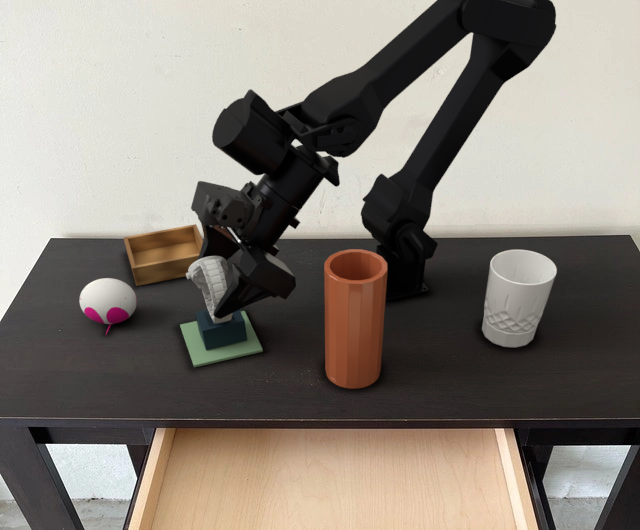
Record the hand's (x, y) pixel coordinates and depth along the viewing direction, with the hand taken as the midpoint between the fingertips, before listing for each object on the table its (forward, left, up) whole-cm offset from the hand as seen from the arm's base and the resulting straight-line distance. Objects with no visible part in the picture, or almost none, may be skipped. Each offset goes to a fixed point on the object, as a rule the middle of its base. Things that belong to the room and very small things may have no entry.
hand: (205, 298), depth 82 cm
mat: (-1, 0, -7) cm, 7 cm away
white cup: (-37, +12, -7) cm, 40 cm away
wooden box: (+2, -21, -7) cm, 22 cm away
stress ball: (+12, -9, -7) cm, 16 cm away
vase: (-15, +12, -7) cm, 20 cm away
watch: (-1, 0, -6) cm, 7 cm away
